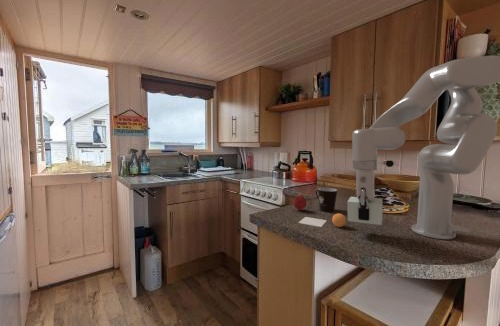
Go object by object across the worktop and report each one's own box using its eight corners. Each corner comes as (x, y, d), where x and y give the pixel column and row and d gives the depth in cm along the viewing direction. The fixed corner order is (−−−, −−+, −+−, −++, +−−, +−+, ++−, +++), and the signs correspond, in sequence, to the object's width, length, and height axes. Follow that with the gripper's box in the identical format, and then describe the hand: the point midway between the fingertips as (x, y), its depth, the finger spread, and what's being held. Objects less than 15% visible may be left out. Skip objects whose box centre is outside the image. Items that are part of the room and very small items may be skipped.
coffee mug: (339, 213, 110) (340, 191, 109) (320, 212, 110) (320, 191, 110) (331, 206, 122) (331, 186, 121) (313, 206, 122) (314, 186, 121)
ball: (346, 225, 93) (347, 213, 93) (344, 229, 89) (345, 216, 88) (333, 223, 96) (333, 211, 95) (330, 227, 91) (331, 214, 91)
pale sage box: (382, 217, 84) (382, 198, 84) (381, 224, 78) (381, 204, 77) (351, 214, 89) (350, 196, 89) (347, 221, 83) (347, 201, 82)
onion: (298, 213, 110) (299, 195, 109) (290, 209, 115) (291, 193, 114) (308, 211, 112) (309, 194, 112) (300, 208, 117) (300, 192, 117)
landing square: (326, 220, 99) (326, 220, 99) (321, 227, 91) (321, 226, 91) (305, 217, 103) (305, 216, 103) (298, 223, 96) (298, 222, 96)
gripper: (375, 168, 72) (375, 225, 74) (378, 163, 87) (378, 210, 89) (348, 168, 76) (349, 222, 78) (356, 163, 91) (356, 208, 93)
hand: (365, 215), depth 83 cm, fingers closed on pale sage box, 7 cm apart
